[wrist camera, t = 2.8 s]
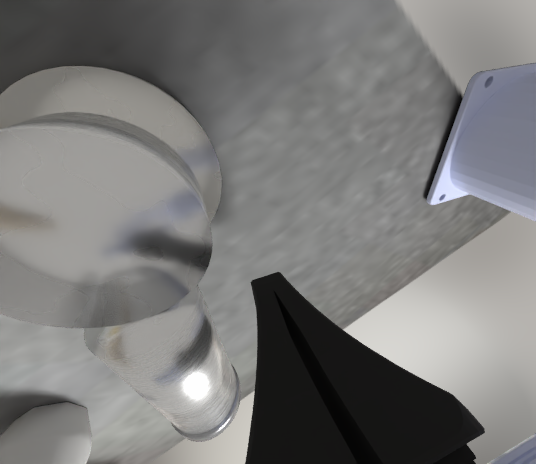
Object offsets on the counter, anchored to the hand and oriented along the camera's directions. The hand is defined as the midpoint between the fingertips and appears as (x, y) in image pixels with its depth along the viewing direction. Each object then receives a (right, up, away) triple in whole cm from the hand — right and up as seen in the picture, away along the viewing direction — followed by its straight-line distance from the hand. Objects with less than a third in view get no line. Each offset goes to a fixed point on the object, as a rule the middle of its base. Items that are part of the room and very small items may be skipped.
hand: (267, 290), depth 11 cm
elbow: (-5, 0, 0) cm, 5 cm away
